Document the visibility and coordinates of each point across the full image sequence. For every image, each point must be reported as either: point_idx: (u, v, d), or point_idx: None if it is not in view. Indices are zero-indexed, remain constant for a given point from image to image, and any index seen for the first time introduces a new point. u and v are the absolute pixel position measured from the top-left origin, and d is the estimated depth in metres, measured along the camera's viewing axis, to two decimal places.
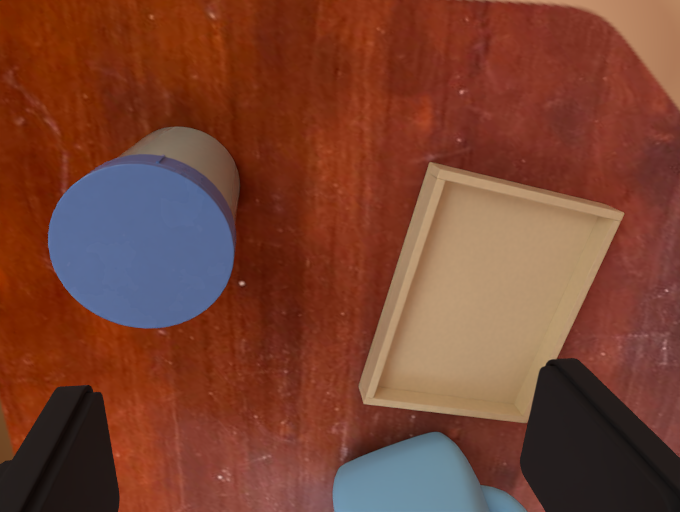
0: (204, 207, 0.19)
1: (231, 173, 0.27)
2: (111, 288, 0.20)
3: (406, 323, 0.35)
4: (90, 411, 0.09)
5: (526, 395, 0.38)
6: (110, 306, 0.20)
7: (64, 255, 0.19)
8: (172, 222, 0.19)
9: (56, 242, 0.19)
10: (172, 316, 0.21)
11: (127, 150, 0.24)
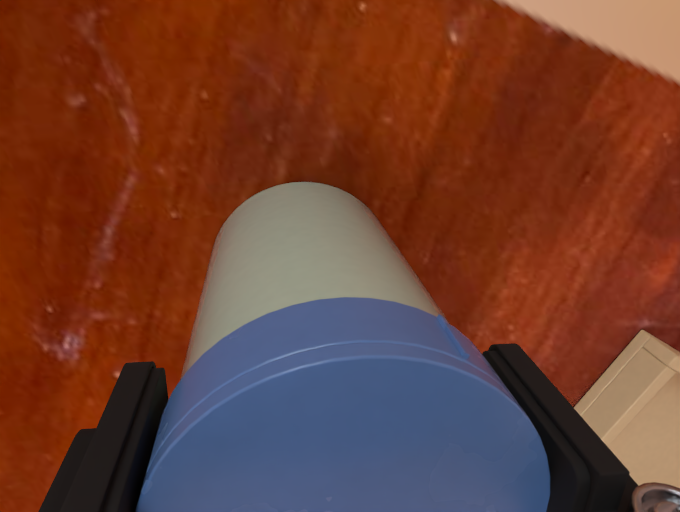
0: (524, 476, 0.08)
1: None
2: None
3: None
4: (158, 384, 0.10)
5: None
6: None
7: None
8: (444, 492, 0.08)
9: (166, 489, 0.07)
10: None
11: (287, 231, 0.13)
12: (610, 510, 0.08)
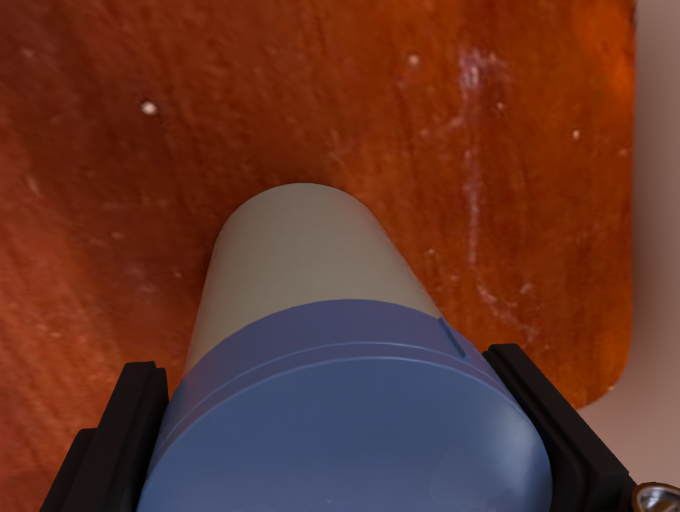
0: (526, 479, 0.08)
1: None
2: None
3: None
4: (159, 384, 0.10)
5: None
6: None
7: None
8: (445, 495, 0.08)
9: (166, 489, 0.07)
10: None
11: None
12: (609, 509, 0.08)
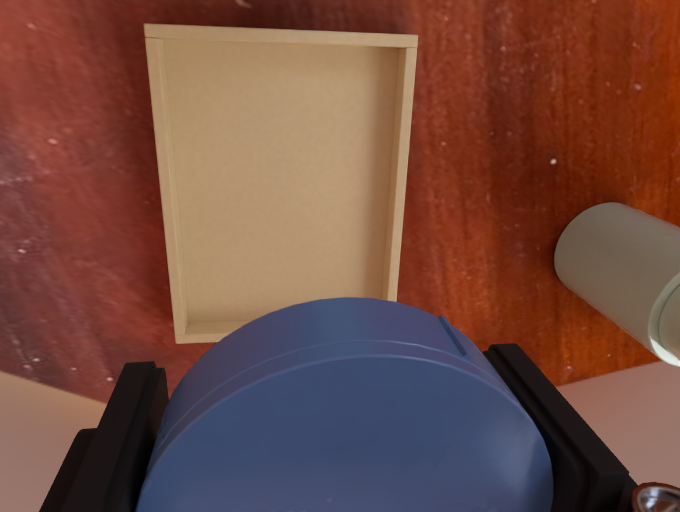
0: (527, 478, 0.08)
1: (585, 297, 0.31)
2: None
3: (370, 151, 0.28)
4: (158, 384, 0.10)
5: (163, 71, 0.25)
6: None
7: None
8: (446, 494, 0.08)
9: (165, 488, 0.07)
10: None
11: None
12: (610, 510, 0.08)
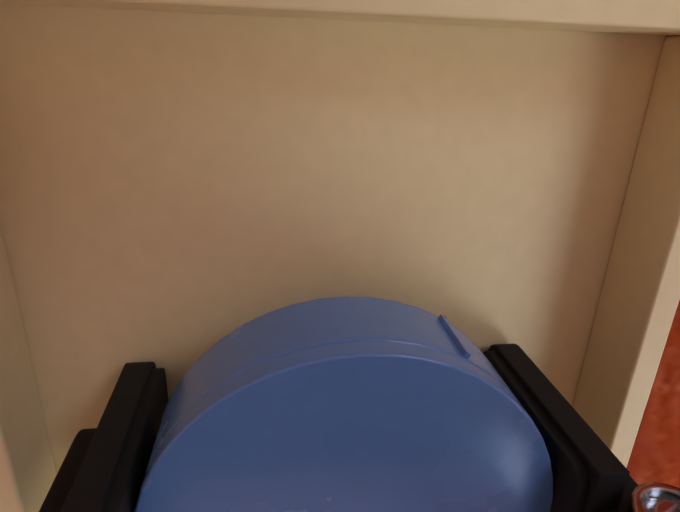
0: (526, 477, 0.08)
1: None
2: None
3: (548, 300, 0.11)
4: (158, 384, 0.10)
5: None
6: None
7: None
8: (446, 493, 0.08)
9: (165, 487, 0.07)
10: None
11: None
12: (610, 510, 0.08)
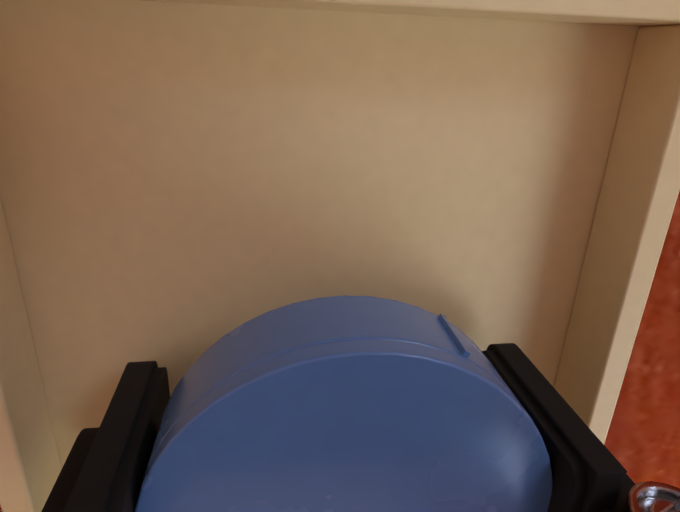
0: (526, 476, 0.08)
1: None
2: None
3: (530, 282, 0.12)
4: (160, 383, 0.10)
5: None
6: None
7: None
8: (445, 491, 0.08)
9: (166, 485, 0.07)
10: None
11: None
12: (607, 509, 0.08)
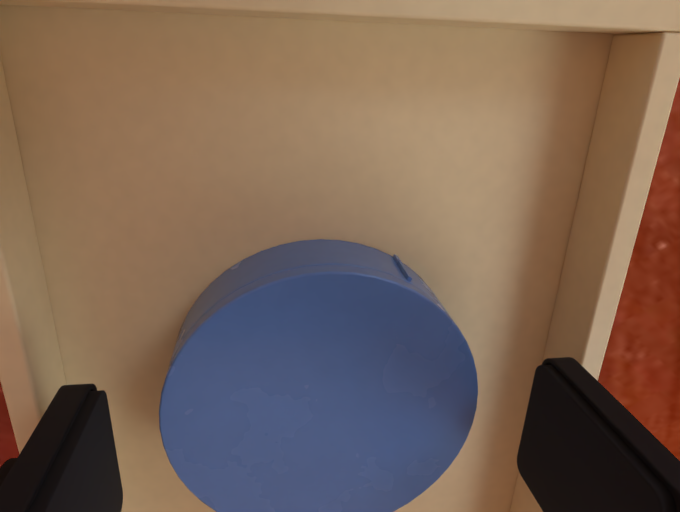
0: (456, 373, 0.11)
1: None
2: (242, 463, 0.11)
3: (516, 272, 0.12)
4: (95, 409, 0.09)
5: None
6: (226, 489, 0.11)
7: (188, 396, 0.10)
8: (395, 384, 0.11)
9: (185, 373, 0.10)
10: None
11: None
12: None
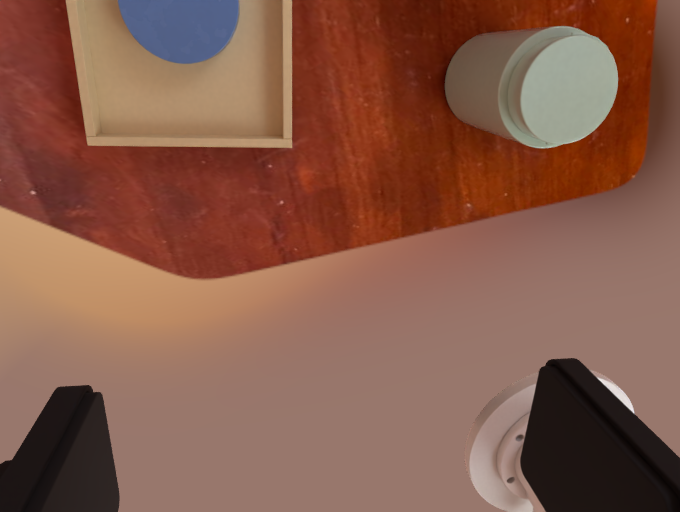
0: None
1: (466, 112, 0.34)
2: (148, 19, 0.30)
3: None
4: (90, 411, 0.09)
5: None
6: (143, 32, 0.30)
7: None
8: None
9: None
10: (181, 56, 0.31)
11: None
12: None
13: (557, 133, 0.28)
